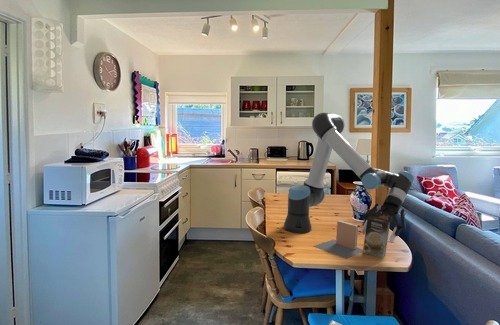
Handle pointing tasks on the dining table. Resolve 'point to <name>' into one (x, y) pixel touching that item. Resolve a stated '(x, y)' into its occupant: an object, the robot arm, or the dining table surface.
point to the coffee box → (376, 236)
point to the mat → (338, 249)
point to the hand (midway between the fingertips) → (376, 236)
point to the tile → (347, 234)
